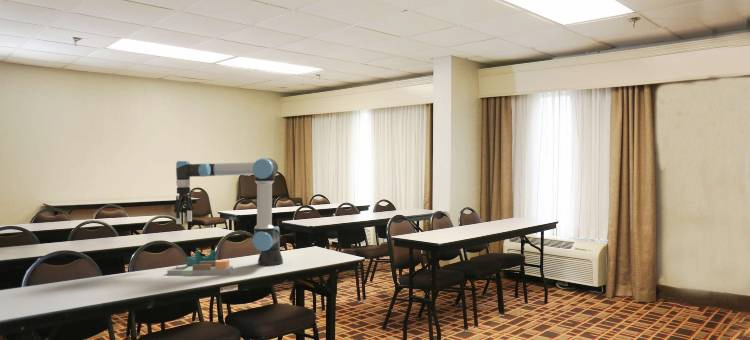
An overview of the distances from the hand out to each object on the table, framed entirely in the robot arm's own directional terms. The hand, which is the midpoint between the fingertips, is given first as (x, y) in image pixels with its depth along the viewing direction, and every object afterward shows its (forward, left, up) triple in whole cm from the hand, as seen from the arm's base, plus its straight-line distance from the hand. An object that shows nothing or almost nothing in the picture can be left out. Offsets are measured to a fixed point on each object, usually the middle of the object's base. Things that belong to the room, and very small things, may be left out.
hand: (184, 222), depth 314 cm
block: (-27, +12, -25) cm, 39 cm away
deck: (-15, +12, -27) cm, 34 cm away
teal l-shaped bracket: (-7, -6, -28) cm, 29 cm away
